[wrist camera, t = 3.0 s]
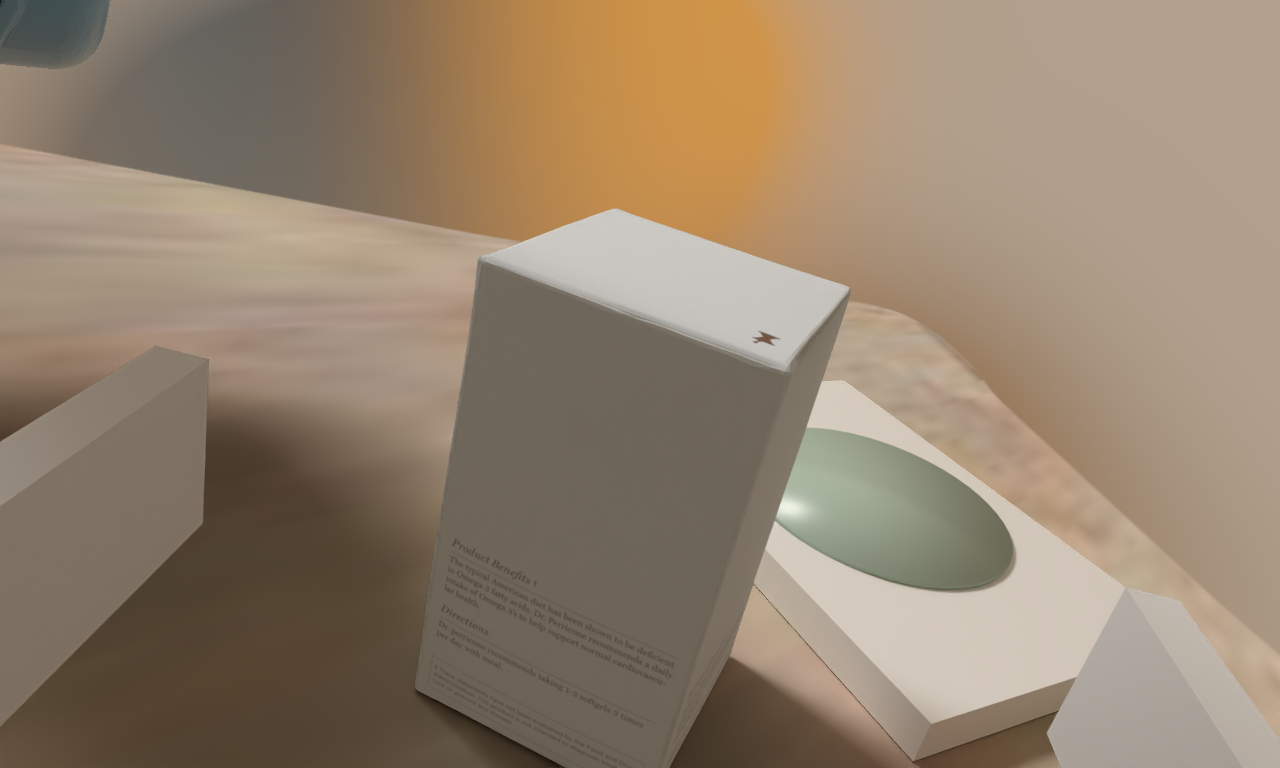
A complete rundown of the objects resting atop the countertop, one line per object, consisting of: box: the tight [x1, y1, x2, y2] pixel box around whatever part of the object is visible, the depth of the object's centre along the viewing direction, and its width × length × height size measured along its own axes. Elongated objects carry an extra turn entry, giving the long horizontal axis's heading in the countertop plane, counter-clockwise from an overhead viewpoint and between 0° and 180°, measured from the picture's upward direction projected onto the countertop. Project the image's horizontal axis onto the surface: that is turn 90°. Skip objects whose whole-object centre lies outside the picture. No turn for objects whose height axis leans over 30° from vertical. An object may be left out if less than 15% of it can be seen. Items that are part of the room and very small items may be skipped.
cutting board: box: [754, 380, 1125, 761], centre depth 38 cm, size 20×14×2 cm
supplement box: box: [415, 209, 851, 768], centre depth 25 cm, size 7×7×13 cm
